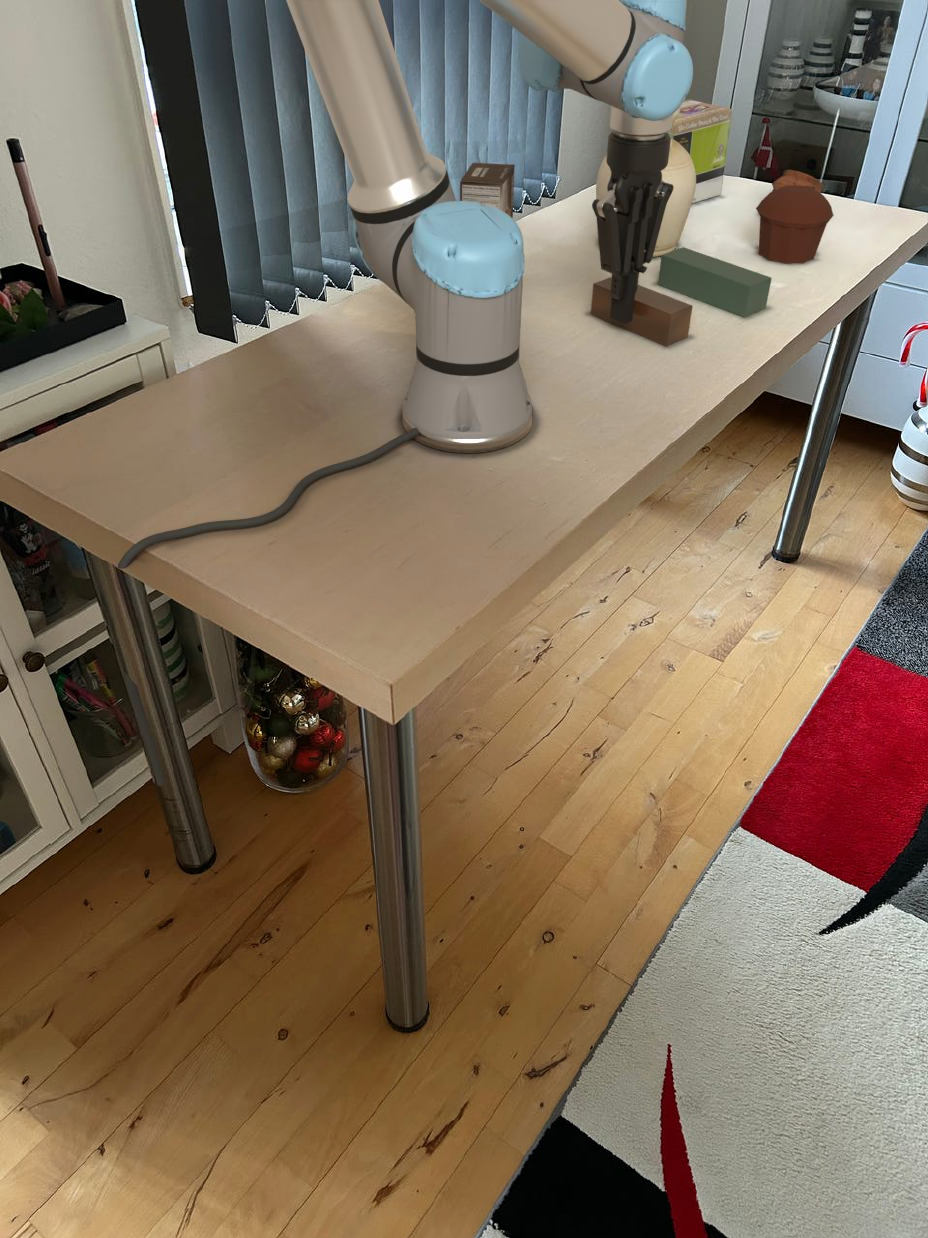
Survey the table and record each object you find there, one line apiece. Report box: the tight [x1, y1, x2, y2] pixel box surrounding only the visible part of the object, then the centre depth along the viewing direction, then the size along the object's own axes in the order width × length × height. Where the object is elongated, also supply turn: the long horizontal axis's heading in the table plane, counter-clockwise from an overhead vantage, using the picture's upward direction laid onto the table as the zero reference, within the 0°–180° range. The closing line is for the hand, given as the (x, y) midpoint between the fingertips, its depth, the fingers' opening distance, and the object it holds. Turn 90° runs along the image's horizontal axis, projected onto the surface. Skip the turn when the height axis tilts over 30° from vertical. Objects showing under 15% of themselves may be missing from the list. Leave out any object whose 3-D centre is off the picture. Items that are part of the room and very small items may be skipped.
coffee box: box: [459, 162, 516, 219], centre depth 146 cm, size 9×6×16 cm
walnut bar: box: [590, 276, 694, 347], centre depth 138 cm, size 4×14×4 cm, turn 41°
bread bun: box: [771, 169, 825, 194], centre depth 173 cm, size 12×10×8 cm
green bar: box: [657, 246, 773, 318], centre depth 146 cm, size 5×16×4 cm, turn 41°
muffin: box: [755, 185, 834, 265], centre depth 158 cm, size 12×11×10 cm
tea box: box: [668, 98, 733, 204], centre depth 178 cm, size 15×10×15 cm, turn 128°
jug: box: [595, 106, 696, 258], centre depth 156 cm, size 15×16×25 cm
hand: (621, 318), depth 136 cm, fingers closed
